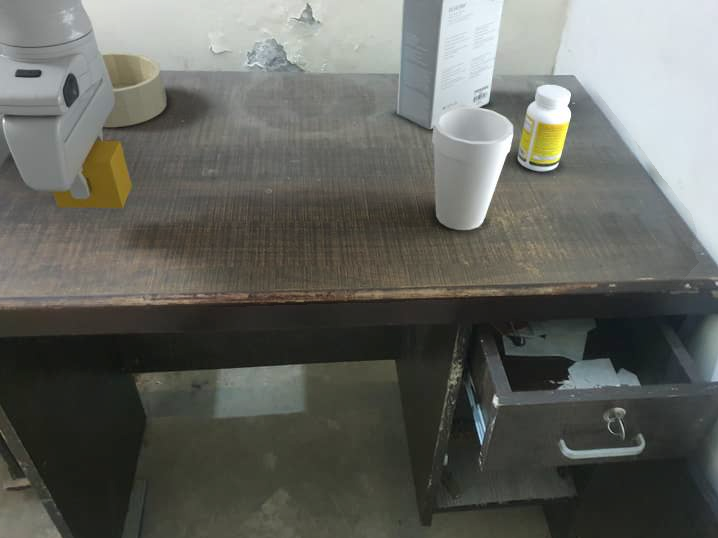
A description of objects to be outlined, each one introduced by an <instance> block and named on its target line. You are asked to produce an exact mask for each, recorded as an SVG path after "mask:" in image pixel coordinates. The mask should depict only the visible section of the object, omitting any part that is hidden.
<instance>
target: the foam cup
mask: <svg viewBox="0 0 718 538" xmlns="http://www.w3.org/2000/svg"><path fill="white" fill-rule="evenodd" d="M432 129H433V130H432V137H431V143H432V145H433V171H434V196H435V213H436V214H435V217H436V218H437V220H438V222H439V223H440V224H441V225H444V226H445V227H447V228H449V229H452V230H456V231H470V230H474V229H477V228H479V227H480V226H481V225H482V224H483V223H484V219H485V218H486V216H487V212H488V210H489V207H490V205H491V201H492V199H493V195H494V193H495V190H496V187H497V184H498V181H499V178H500V175H501V172H502V170H503V166H504V163H505V161H506V158H507V156H508V153H510V150H511V147H512V141H513V136H514V124H513V123H512V122H511V121H510V120H509V119H508V118H507V117H506V116H505V115H502V114H501V113H498V112H496V111H494V110H491V109H488V108H482V107H479V108H478V107H454V108H450V109H445V110H443V111H442V112H440V113H439V114H437V115H436V116H435V120H434V127H433V128H432Z"/></svg>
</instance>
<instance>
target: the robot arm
mask: <svg viewBox="0 0 718 538" xmlns="http://www.w3.org/2000/svg"><path fill="white" fill-rule="evenodd" d="M92 23H93V22H92V20H91V18H90V16H89V14H88V13H87V11H86V9H85V8H84V5H83V2H82V0H0V115H2V122H1V123H2V129H3V133H4V134H3V135H4V138H5V140H6V143H7V146H8V148H9V152H10V154H11V156H12V158H13V161H14V163H15V165H16V168H17V169H18V172H19V174H20V176H21V178H22V180H23V182H24V183H25V185H26V186H28V187H29V188H30V189H32V190H33V191H35V192H49V193H53V192H60V191H67V190H70V192H71V195H72V197H73V198H75V199H87V198H89V195H90V193H91V191H92V187H91V184H90V181H89V178H84V176H83V174H82V173H81V172H82V171H83V168H82V165H83V163H84V161H85V159H86V158H87V156H88V154H89V152H90V150H91V148H92V146H93V145H94V143H95V141H104V134H103V129H104V127H103V126H104V124H105V122H106V121H107V119H108V117H109V115H110V113H111V111H112V109H113V108H114V106H115V96H114V90H113V87H112V84H111V80H110V77H109V74H108V71H107V68H106V65H105V62H104V59H103V57H102V55H101V53H102V52H101V51H100V49H99V45H98V43H97V39H96V35H95V31H94V27H93V24H92Z"/></svg>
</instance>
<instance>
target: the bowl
mask: <svg viewBox="0 0 718 538" xmlns="http://www.w3.org/2000/svg"><path fill="white" fill-rule="evenodd" d="M100 53H101V55H102V57H103V59H104V62H105V65H106V68H107V71H108V74H109V77H110V80H111V84H112V87H113V90H114V96H115V106H114V108H113V109H112V111H111V113H110V115H109V117H108V119H107V121H106V122H105V124H104V126H103V128H119V127H128V126H132V125H133V126H134V125H137V124H141V123H144V122H147V121H149V120H152V119H153V118H155V117H157V116H158V115H160V114H161V113H163V111H164V110H166V109H165V108H166V107H167V104H168V103H167V101H168V100H167V94H166V89H165V85H164V79H163V74H162V69H161V65H160V64H159V63H158V62H157V61H156V60H155V59H153V58H152V57H149V56H146V55H143V54H139V53H132V52H115V51H114V52H100Z"/></svg>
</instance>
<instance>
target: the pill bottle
mask: <svg viewBox="0 0 718 538" xmlns="http://www.w3.org/2000/svg"><path fill="white" fill-rule="evenodd" d="M571 94H572V93H571V92H570V90H568V89H567V88H566V87H563V86H560V85H557V84H541V85H539V86H538V87H537V88H536V91H535V96H534V101H532V102H531V103H529V105H528V107H527V109H526V113H525V118H524V123H523V128H522V133H521V138H520V142H519V147H518V153H517V161H518V162H519V164H520V165H521V166H522V167H524V168H526V169H529V170H531V171H534V172H548V171H552V170H555V169H556V168H557V167H558V165H559V163H560V160H561V157H562V152H563V149H564V145H565V141H566V136H567V133H568V128H569V125H570V120H571V116H572V113H571V110H570V108H569V107H568V105H569V103H570V99H571Z"/></svg>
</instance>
